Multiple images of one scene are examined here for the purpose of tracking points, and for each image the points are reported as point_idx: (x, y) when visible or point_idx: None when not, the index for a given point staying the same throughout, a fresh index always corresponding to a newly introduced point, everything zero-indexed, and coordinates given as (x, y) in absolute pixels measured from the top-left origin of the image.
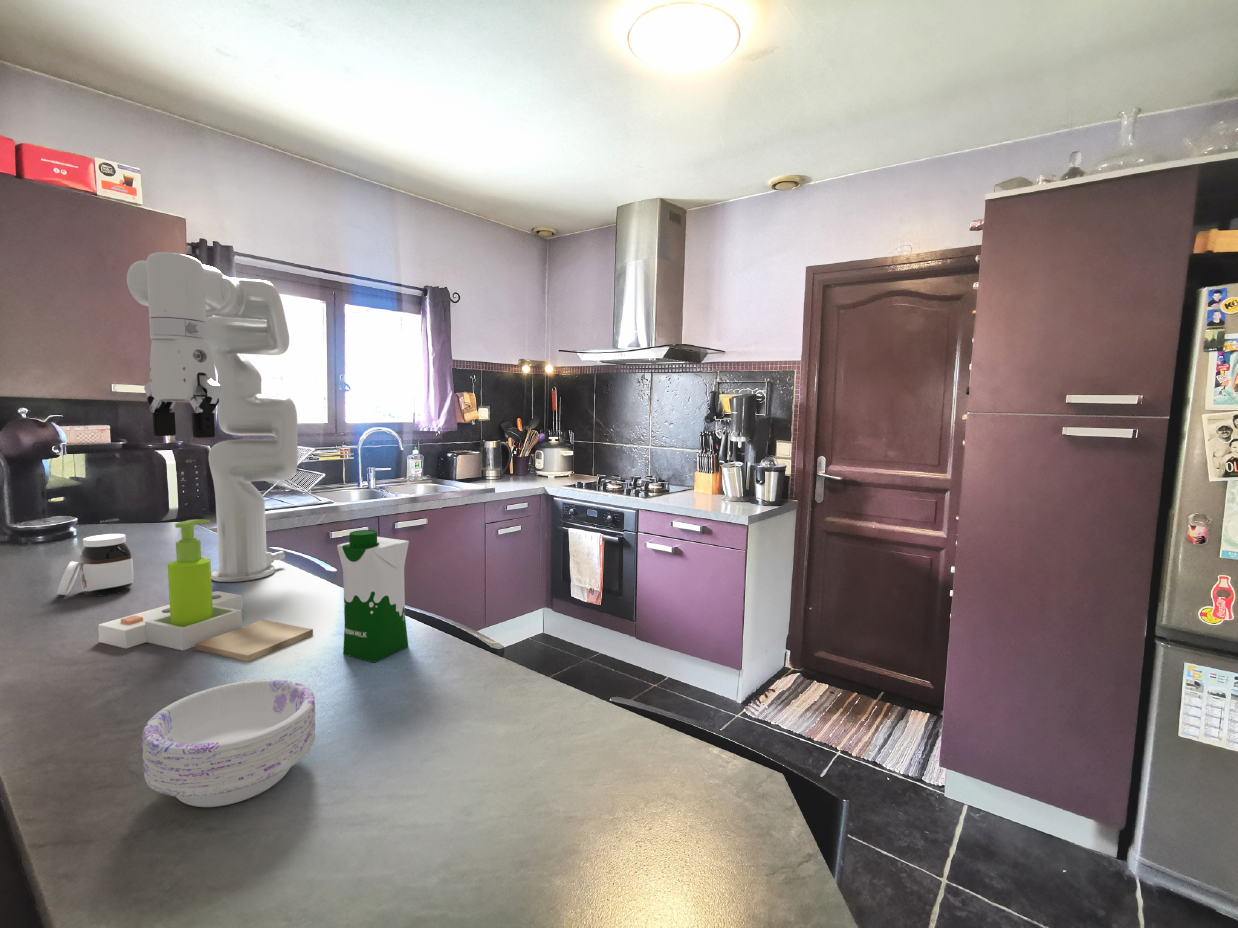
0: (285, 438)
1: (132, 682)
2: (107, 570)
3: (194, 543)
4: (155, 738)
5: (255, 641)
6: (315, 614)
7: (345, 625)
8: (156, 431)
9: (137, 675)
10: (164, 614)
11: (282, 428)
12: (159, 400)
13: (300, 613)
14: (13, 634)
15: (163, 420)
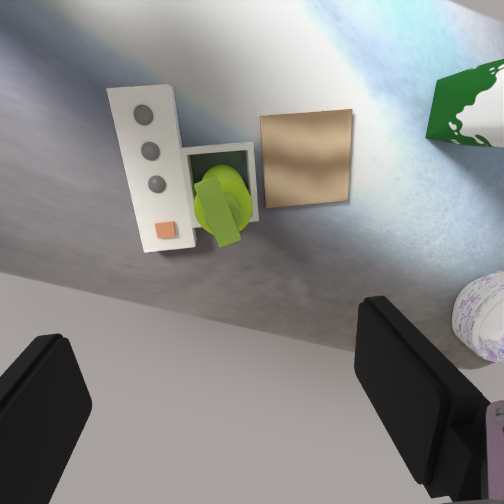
0: None
1: (290, 272)
2: None
3: (242, 216)
4: (501, 360)
5: (320, 171)
6: (287, 43)
7: (461, 143)
8: (81, 425)
9: (279, 263)
10: (169, 196)
11: None
12: None
13: (263, 52)
14: (37, 278)
15: (41, 462)
